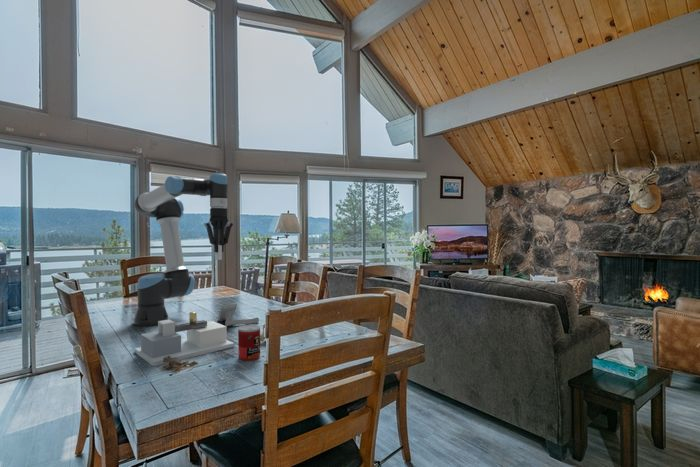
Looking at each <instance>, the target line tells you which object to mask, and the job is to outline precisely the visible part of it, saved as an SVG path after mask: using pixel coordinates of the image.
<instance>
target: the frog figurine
mask: <svg viewBox="0 0 700 467" xmlns="http://www.w3.org/2000/svg"><path fill="white" fill-rule="evenodd" d="M163 362H167V363H166V364H165V365H164V366H163V367H162V368H161V371H168V370H169V367H171V369H170V371H172V373H182V372H184V373H186V372H188V371H191V370H192V369H193V368H196V366H199V362H198V361H196V360H193V361H189V360H179V359H178V358H172V357H170V356H167V357H165V358H163Z"/></svg>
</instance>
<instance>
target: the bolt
mask: <svg viewBox="0 0 700 467" xmlns="http://www.w3.org/2000/svg"><path fill="white" fill-rule="evenodd" d="M188 315H189V320H188V321H189V322H186V323H181V324H175V333H180V332H185V331H186V332H187V330H191V329H196V328H201V327H207V322H208V321H207V320H204V319H203V320H202V319H201V320H198V319H197V312H196V311H192V312H189V314H188Z"/></svg>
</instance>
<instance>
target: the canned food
mask: <svg viewBox="0 0 700 467" xmlns="http://www.w3.org/2000/svg"><path fill="white" fill-rule="evenodd" d="M237 331H238V332H237V335H238V336H237V338H238V339H237V340H238V341H237V342H238V354H237V355H238V358H239V360H241V361H243V362H244V361H245V362H251V361H255V360H257V359H260V356H261V344H260V335H261V327H260V326H259V325H257V324H243V325H240V326H239V327H238V330H237Z"/></svg>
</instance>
